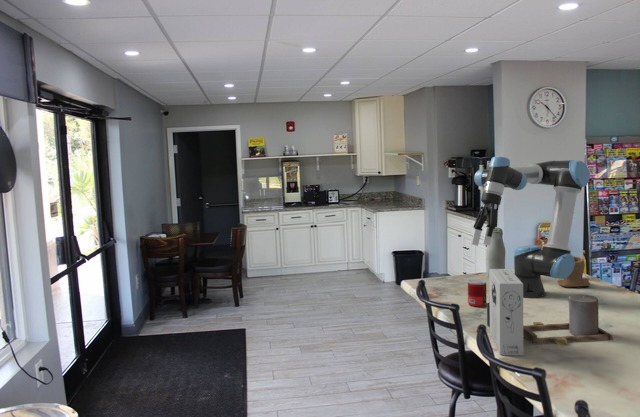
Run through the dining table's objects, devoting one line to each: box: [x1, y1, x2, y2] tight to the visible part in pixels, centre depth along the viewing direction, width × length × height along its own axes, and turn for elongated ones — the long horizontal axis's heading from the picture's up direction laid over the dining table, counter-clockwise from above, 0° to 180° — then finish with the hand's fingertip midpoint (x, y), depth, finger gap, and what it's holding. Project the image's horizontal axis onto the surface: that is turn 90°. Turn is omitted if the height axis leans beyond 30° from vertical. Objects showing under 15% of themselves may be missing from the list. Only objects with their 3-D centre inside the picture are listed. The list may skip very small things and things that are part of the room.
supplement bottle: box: [486, 295, 490, 328], centre depth 197 cm, size 7×7×12 cm
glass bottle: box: [485, 227, 506, 278], centre depth 268 cm, size 10×10×28 cm
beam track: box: [523, 321, 613, 346], centre depth 185 cm, size 29×19×3 cm, turn 92°
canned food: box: [467, 278, 487, 308], centre depth 224 cm, size 8×8×11 cm
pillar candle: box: [568, 293, 600, 336], centre depth 185 cm, size 10×10×15 cm
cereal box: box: [488, 268, 524, 357], centre depth 178 cm, size 22×8×25 cm, turn 170°
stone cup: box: [557, 255, 591, 288], centre depth 247 cm, size 15×12×15 cm
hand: (480, 244), depth 200 cm, fingers open, 13 cm apart
